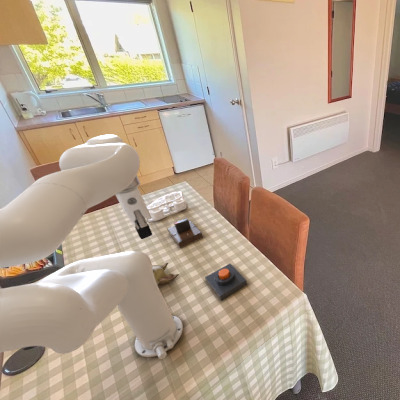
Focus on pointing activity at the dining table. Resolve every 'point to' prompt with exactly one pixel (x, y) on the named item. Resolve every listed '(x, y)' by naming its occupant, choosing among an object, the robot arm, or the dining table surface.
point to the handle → (182, 225)
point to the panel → (185, 235)
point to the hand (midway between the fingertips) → (146, 236)
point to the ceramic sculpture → (162, 274)
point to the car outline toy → (158, 211)
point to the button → (224, 274)
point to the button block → (226, 282)
